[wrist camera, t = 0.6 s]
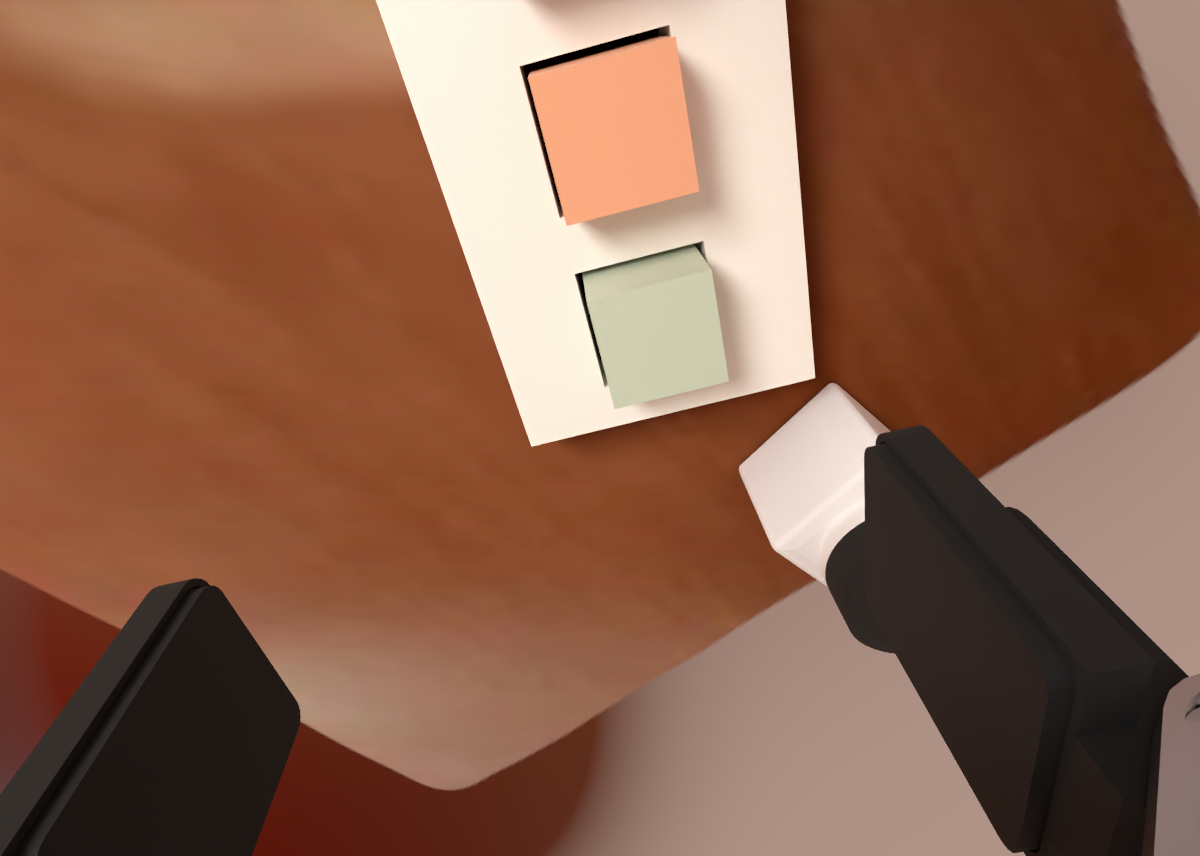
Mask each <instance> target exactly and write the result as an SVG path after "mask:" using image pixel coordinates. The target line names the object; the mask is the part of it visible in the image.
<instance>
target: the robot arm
mask: <svg viewBox="0 0 1200 856" xmlns="http://www.w3.org/2000/svg"><path fill="white" fill-rule="evenodd" d="M864 496H865V576H866V594H867V599H868V602H869V605H870V608H871V611H872V613H873V615H874V617H875V618H876V620H877V622H878V624H879V625H880V627H881V629H882V631H883V632H884V634H885V636H886V638H887V640H888V641H889V643H890V645H891V647H892V648H893V650H894V652H895V654H896V655H897V657H898V659H899V661H900V663H901V664H902V666H903V668H904V670H905V671H906V673H907V675H908V677H909V678H910V680H911V682H912V684H913V686H914V687H915V689H916V691H917V692H918V694H919V696H920V698H921V700H922V701H923V703H924V705H925V707H926V708H927V710H928V712H929V714H930V716H931V717H932V719H933V721H934V723H935V724H936V726H937V728H938V730H939V732H940V733H941V735H942V737H943V739H944V740H945V742H946V744H947V746H948V747H949V749H950V751H951V753H952V755H953V756H954V758H955V760H956V762H957V763H958V765H959V767H960V769H961V770H962V772H963V774H964V776H965V778H966V779H967V781H968V783H969V785H970V786H971V788H972V790H973V792H974V794H975V795H976V797H977V799H978V801H979V802H980V804H981V806H982V807H983V810H984V811H985V813H986V814H987V817H988V818H989V820H990V822H991V824H992V825H993V827H994V829H995V830H996V833H997V834H998V836H999V837H1000V839H1001V841H1002V842H1003V844H1004V845H1005V846H1006V847H1007V849H1008V850H1010V851H1011V852H1012V853H1018V852H1023V851H1024V853H1025V855H1026V856H1200V674H1198V675H1195V676H1191V677H1189V676H1188V675H1186V673H1184V671H1182V669H1180V668H1179V666H1178V665H1177V664H1175V663H1174V662H1173V661H1172V660H1171V659H1170V658H1169V657H1168V656H1167V655H1166V654H1165V653H1164V652H1163V651H1162V650H1161V649H1160V648H1159V647H1158V646H1157V645H1156V644H1155V643H1154V642H1153V641H1152V640H1151V639H1150V638H1149V637H1148V636H1147V635H1146V634H1145V633H1144V632H1143V631H1142V630H1141V629H1140V628H1139V627H1138V626H1137V625H1136V624H1135V623H1134V622H1133V621H1132V620H1131V619H1130V618H1129V617H1128V616H1127V615H1126V614H1125V613H1124V612H1123V611H1122V610H1121V609H1120V608H1119V607H1118V606H1117V605H1116V604H1115V603H1114V602H1113V601H1112V600H1111V599H1110V598H1109V597H1108V596H1107V595H1106V594H1105V593H1104V592H1103V591H1102V590H1101V589H1100V588H1099V587H1098V586H1097V585H1096V584H1095V583H1094V582H1093V581H1092V580H1091V579H1090V578H1089V577H1088V576H1087V575H1086V574H1085V573H1084V572H1083V571H1082V570H1081V569H1080V568H1079V567H1078V566H1077V565H1076V564H1075V563H1074V562H1073V561H1072V560H1071V559H1070V558H1069V557H1068V556H1067V555H1066V554H1065V553H1063V551H1062V550H1060V549H1059V547H1058V546H1057V545H1056V544H1055V543H1054V542H1053V541H1052V540H1050V538H1048V537H1047V535H1045V534H1044V533H1043V531H1041V530H1040V529H1039V528H1038V527H1037V526H1036V525H1035V524H1034V523H1033V522H1032V521H1031V520H1030V519H1029V518H1028V517H1027V516H1026V515H1024V514H1023V513H1022V512H1020V511H1019V510H1017V509H1014V508H1011V507H1006V508H1005V507H1004V506H1003V505H1002V504H1001V503H1000V502H999V501H998V500H997V499H996V498H995V497H994V496H993V495H992V494H991V492H989V491H988V489H986V488H985V486H984V485H983V484H982V483H981V482H980V481H979V480H978V479H977V478H976V477H975V476H974V475H973V474H972V473H971V472H970V471H969V470H968V469H967V468H966V467H965V466H964V465H963V464H962V463H961V462H960V461H959V460H958V459H957V458H956V457H955V456H954V455H953V454H952V453H951V452H950V451H949V450H948V449H947V448H946V447H945V446H944V444H943V443H942V442H941V441H940V440H939V439H938V438H937V437H936V436H935V435H934V434H933V433H932V432H931V431H930V430H929V429H927V428H926V427H925V426H921V425H919V426H914V427H909V428H905V429H900V430H895V431H890V432H886V433H881V434H879V435H878V436H877V439H876V444H875V446H871V447H867V448H866V449H865V452H864ZM299 725H300V709H299V705H298V703H297V701H296V699H295V698H294V697H293V695H292V694H291V692H290V691H289V689H288V688H287V686H286V685H285V683H284V682H283V680H282V679H281V677H280V676H279V675H278V673H277V672H276V670H275V669H274V667H273V666H272V664H271V663H270V661H269V660H268V658H267V657H266V655H265V654H264V652H263V651H262V650H261V648H260V647H259V645H258V644H257V642H256V641H255V639H254V638H253V636H252V635H251V633H250V632H249V630H248V629H247V628H246V626H245V625H244V623H243V622H242V620H241V619H240V617H239V616H238V614H237V613H236V611H235V610H234V608H233V607H232V606H231V604H230V603H229V601H228V600H227V598H226V597H225V595H224V594H223V592H222V591H221V590H220V589H219V588H218V587H216V586H210V585H209V584H208V583H207V582H206V581H204V580H202V579H190V580H185V581H180V582H176V583H171V584H166V585H161V586H158V587H156V588H153V589H152V590H151V591H150V592H149V593H148V594H147V595H146V597H145V598H144V599H143V601H142V602H141V604H140V605H139V606H138V608H137V609H136V610H135V612H134V613H133V614H132V616H131V617H130V619H129V620H128V621H127V623H126V624H125V625H124V627H123V628H122V629H121V631H120V632H119V634H118V635H117V636H116V638H115V639H114V640H113V642H112V643H111V645H110V646H109V647H108V649H107V650H106V651H105V653H104V654H103V655H102V657H101V658H100V660H99V661H98V662H97V664H96V665H95V666H94V668H93V669H92V670H91V672H90V673H89V674H88V676H87V677H86V679H85V680H84V681H83V683H82V684H81V686H80V687H79V688H78V689H77V691H76V692H75V694H74V695H73V696H72V698H71V699H70V700H69V702H68V703H67V704H66V706H65V708H64V709H63V710H62V711H61V713H60V714H59V715H58V717H57V718H56V720H55V721H54V722H53V724H52V725H51V726H50V728H49V729H48V730H47V732H46V733H45V734H44V736H43V737H42V739H41V740H40V741H39V743H38V744H37V745H36V747H35V748H34V750H33V751H32V752H31V754H30V755H29V756H28V758H27V759H26V760H25V762H24V763H23V764H22V766H21V767H20V769H19V770H18V771H17V773H16V774H15V775H14V777H13V778H12V779H11V781H10V782H9V784H8V785H7V786H6V788H5V789H4V791H3V792H2V793H1V794H0V856H252V854H253V851H254V848H255V846H256V843H257V840H258V838H259V835H260V832H261V829H262V827H263V824H264V821H265V819H266V816H267V813H268V811H269V808H270V805H271V802H272V800H273V797H274V794H275V791H276V789H277V786H278V783H279V781H280V778H281V775H282V773H283V770H284V767H285V764H286V762H287V759H288V756H289V754H290V751H291V748H292V745H293V743H294V740H295V737H296V735H297V732H298V729H299Z"/></svg>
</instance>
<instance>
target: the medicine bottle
mask: <svg viewBox="0 0 1200 856" xmlns="http://www.w3.org/2000/svg"><path fill="white" fill-rule="evenodd" d="M886 432H890V430H889V429H888V428H887V427H885V426H884V425H883V424H882V423H881V422H880V421H879V420H877V419H876V418H875V417H874V416H873V415H872V414H871V413H869V412H868V411H867V410H866V409H865V408H864V407H863V406H861V405H860V404H859V403H858V402H857V401H856V400H855V399H854V398H852V397H851V396H850V395H849V394H848V393H847V392H846V391H844V390H843V389H842V388H841V387H840V386H839V385H837V384H835V383H830V384H828V385H827V386H826V387H825V388H823V389H822V390H821V391H820V392H819V393H818V394H817V395H816V396H815V397H814V398H813V399H812V400H810V401H809V402H808V403H807V404H806V405H805V406H804V407H803V408H802V409H801V410H800V411H798V412H797V413H796V414H795V415H794V416H793V417H792V418H791V419H790V420H789V421H788V422H787V423H785V424H784V425H783V426H782V427H781V428H780V429H779V430H778V431H777V432H776V433H775V434H774V435H772V436H771V437H770V438H769V439H768V440H767V441H766V442H765V443H764V444H763V445H762V446H760V447H759V448H758V449H757V450H756V451H755V452H754V453H753V454H752V455H751V456H750V457H749V458H747V459H746V460H745V461H744V462H743V463H742V464H741V465H740V466H739V473H740V475H741V477H742V480H743V482H744V484H745V487H746V489H747V491H748V493H749V496H750V498H751V500H752V503H753V505H754V507H755V509H756V512H757V514H758V516H759V519H760V521H761V523H762V525H763V528H764V530H765V532H766V534H767V537H768V539H769V541H770V544H771V546H772V548H773V549H774V550H775V551H776V552H778V553H779V554H781V555H782V556H783V557H785V558H786V559H788V560H789V561H791V562H792V563H794V564H795V565H796V566H798V567H799V568H801V569H802V570H804V571H805V572H806V573H808V574H809V575H811V576H812V577H814V578H815V579H817V580H818V581H819V582H821V583H823V584H824V585H825V586H827V587H828V588H829V590H830V592H831V594H832V596H833V598H834V600H835V602H836V604H837V606H838V608H839V610H840V612H841V614H842V616H843V618H844V620H845V622H846V624H847V626H848V627H849V629H850V632H851V633H852V634H853V635H854V637H855V638H856V639H857V640H858V641H860V642H861V643H863V644H865V645H866V646H869V647H871V648H873V649H877V650H880V651H884V652H889V653H895V652H894V650H893V648H892V647H891V645H890V643H889V641H888V640H887V638H886V636H885V634H884V632H883V631H882V629H881V627H880V625H879V624H878V622H877V620H876V618H875V617H874V615H873V613H872V611H871V608H870V605H869V602H868V599H867V594H866V576H865V496H864V452H865V449H866V448H867V447H871V446H875V444H876V439H877V436H878V435H879V434H881V433H886Z"/></svg>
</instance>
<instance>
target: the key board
mask: <svg viewBox="0 0 1200 856" xmlns="http://www.w3.org/2000/svg"><path fill="white" fill-rule="evenodd" d="M376 2H377V5H378V7H379V10H380V13H381V16H382V19H383V22H384V25H385V28H386V30H387V33H388V36H389V39H390V42H391V45H392V48H393V51H394V53H395V56H396V59H397V62H398V65H399V68H400V71H401V73H402V76H403V79H404V82H405V85H406V88H407V91H408V94H409V96H410V99H411V102H412V105H413V108H414V111H415V114H416V117H417V119H418V122H419V125H420V128H421V131H422V134H423V137H424V139H425V142H426V145H427V148H428V151H429V154H430V157H431V160H432V162H433V165H434V168H435V171H436V174H437V177H438V180H439V183H440V185H441V188H442V191H443V194H444V197H445V200H446V203H447V205H448V208H449V211H450V214H451V217H452V220H453V223H454V226H455V228H456V231H457V234H458V237H459V240H460V243H461V246H462V249H463V251H464V254H465V257H466V260H467V263H468V266H469V269H470V272H471V274H472V277H473V280H474V283H475V286H476V289H477V292H478V294H479V297H480V300H481V303H482V306H483V309H484V312H485V315H486V317H487V320H488V323H489V326H490V329H491V332H492V335H493V338H494V340H495V343H496V346H497V349H498V352H499V355H500V358H501V360H502V363H503V366H504V369H505V372H506V375H507V378H508V381H509V383H510V386H511V389H512V392H513V395H514V398H515V401H516V404H517V406H518V409H519V412H520V415H521V418H522V421H523V424H524V426H525V429H526V432H527V435H528V438H529V441H530V444H531V447H532V446H536V445H540V444H544V443H548V442H552V441H557V440H561V439H565V438H569V437H573V436H577V435H582V434H586V433H590V432H594V431H598V430H602V429H606V428H611V427H615V426H619V425H623V424H627V423H631V422H635V421H640V420H644V419H648V418H652V417H656V416H660V415H665V414H669V413H673V412H677V411H681V410H685V409H689V408H694V407H698V406H702V405H706V404H710V403H714V402H718V401H723V400H727V399H731V398H735V397H739V396H743V395H748V394H752V393H756V392H760V391H764V390H768V389H772V388H777V387H781V386H785V385H789V384H793V383H797V382H801V381H806V380H810V379H814V378H815V369H814V356H813V344H812V331H811V318H810V306H809V293H808V281H807V268H806V255H805V243H804V230H803V217H802V205H801V192H800V179H799V167H798V154H797V141H796V129H795V116H794V104H793V91H792V78H791V66H790V53H789V40H788V28H787V15H786V2H785V0H376ZM656 28H658V31H659V36H668V37H676V43H677V49H678V56H679V62H680V69H681V75H682V81H683V88H684V94H685V101H686V107H687V114H688V120H689V127H690V133H691V140H692V146H693V152H694V159H695V165H696V172H697V178H698V185H699V192H696V193H692V194H688V195H684V196H680V197H676V198H673V199H669V200H665V201H661V202H657V203H653V204H650V205H646V206H642V207H638V208H634V209H630V210H627V211H623V212H619V213H615V214H611V215H607V216H604V217H600V218H596V219H592V220H588V221H585V222H581V223H577V224H573V225H569V226H567V225H566V222H565V218H564V214H563V210H562V206H561V203H560V202H558V198H557V194H556V190H555V187H554V183H553V179H552V175H551V171H550V168H549V164H548V160H547V156H546V152H545V149H544V145H543V141H542V137H541V133H540V130H539V126H538V122H537V118H536V114H535V111H534V107H533V103H532V99H531V95H530V92H529V88H528V84H527V80H526V76H525V73H524V69H523V65H526V64H530V63H533V62H537V61H540V60H544V59H548V58H551V57H555V56H559V55H562V54H566V53H569V52H573V51H577V50H580V49H584V48H587V47H591V46H595V45H598V44H602V43H605V42H609V41H613V40H616V39H620V38H623V37H627V36H631V35H634V34H638V33H641V32H645V31H649V30H652V29H656ZM690 244H694V245H695V247H696V248H697V249H698V251H699V252H700V254H701V255H702V257H703V258H704V259H705V261H706V262H707V264H708V265H709V267H710V268H711V269H712V275H713V281H714V288H715V294H716V301H717V307H718V314H719V320H720V327H721V333H722V339H723V346H724V352H725V359H726V365H727V372H728V378H729V382H725V383H721V384H717V385H713V386H709V387H705V388H700V389H696V390H692V391H688V392H684V393H680V394H676V395H672V396H668V397H663V398H659V399H655V400H651V401H647V402H643V403H639V404H635V405H630V406H626V407H622V408H618V409H614V405H613V401H612V397H611V393H610V390H609V386H608V382H607V378H606V374H605V371H604V367H603V363H602V360H600V357H599V354H598V350H597V346H596V342H595V338H594V335H593V331H592V327H591V323H590V319H589V316H588V312H587V308H586V304H585V300H584V297H583V293H582V289H581V285H580V281H579V278H578V274H577V273H581V272H585V271H588V270H592V269H596V268H600V267H604V266H608V265H612V264H616V263H620V262H624V261H627V260H631V259H635V258H639V257H643V256H647V255H651V254H655V253H659V252H663V251H667V250H670V249H674V248H678V247H682V246H686V245H690Z"/></svg>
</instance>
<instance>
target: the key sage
mask: <svg viewBox="0 0 1200 856" xmlns="http://www.w3.org/2000/svg"><path fill="white" fill-rule="evenodd" d="M582 275H583V282H584V288H585V295H586V302H587V306H588V309H589V313H590V317H591V321H592V325H593V329H594V332H595V336H596V340H597V344H598V348H599V351H600V355H601V359H602V363H603V367H604V371H605V374H606V378H607V382H608V386H609V390H610V393H611V397H612V401H613V405H614V409H618V408H622V407H626V406H630V405H635V404H639V403H643V402H647V401H651V400H655V399H659V398H663V397H668V396H672V395H676V394H680V393H684V392H688V391H692V390H696V389H700V388H705V387H709V386H713V385H717V384H721V383H725V382H729V378H728V372H727V365H726V359H725V352H724V346H723V339H722V333H721V327H720V320H719V314H718V307H717V301H716V294H715V288H714V281H713V275H712V269H711V268H710V267H709V265H708V264H707V262H706V261H705V259H704V258H703V257H702V255H701V254H700V252H699V251H698V249H697V248H696V247H695V245H694V244H690V245H686V246H682V247H678V248H674V249H670V250H667V251H663V252H659V253H655V254H651V255H647V256H643V257H639V258H635V259H631V260H627V261H624V262H620V263H616V264H612V265H608V266H604V267H600V268H596V269H592V270H588V271H585V272H582Z"/></svg>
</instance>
